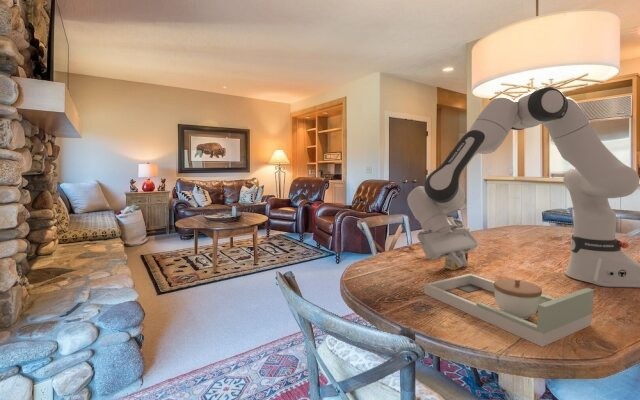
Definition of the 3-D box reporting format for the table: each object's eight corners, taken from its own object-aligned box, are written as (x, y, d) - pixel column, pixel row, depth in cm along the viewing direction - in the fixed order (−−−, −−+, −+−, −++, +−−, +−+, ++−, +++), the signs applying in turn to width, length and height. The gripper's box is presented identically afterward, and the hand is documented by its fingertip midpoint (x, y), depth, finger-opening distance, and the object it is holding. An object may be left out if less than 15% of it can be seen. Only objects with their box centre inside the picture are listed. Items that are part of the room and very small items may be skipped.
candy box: (454, 271, 123) (455, 230, 122) (444, 268, 127) (445, 228, 125) (468, 266, 128) (469, 227, 127) (458, 264, 132) (459, 226, 130)
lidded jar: (539, 327, 80) (541, 290, 79) (490, 316, 86) (491, 281, 85) (540, 311, 89) (542, 277, 88) (495, 302, 95) (497, 270, 94)
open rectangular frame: (476, 306, 86) (477, 283, 85) (524, 291, 95) (525, 271, 94) (543, 334, 71) (544, 307, 71) (592, 313, 81) (594, 289, 80)
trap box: (424, 293, 102) (424, 284, 102) (469, 282, 111) (469, 273, 111) (542, 346, 72) (542, 333, 71) (590, 325, 81) (591, 313, 81)
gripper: (420, 226, 102) (445, 265, 94) (465, 220, 111) (492, 255, 103) (409, 238, 106) (433, 276, 98) (454, 231, 115) (478, 265, 108)
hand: (463, 265), depth 101 cm, fingers closed
